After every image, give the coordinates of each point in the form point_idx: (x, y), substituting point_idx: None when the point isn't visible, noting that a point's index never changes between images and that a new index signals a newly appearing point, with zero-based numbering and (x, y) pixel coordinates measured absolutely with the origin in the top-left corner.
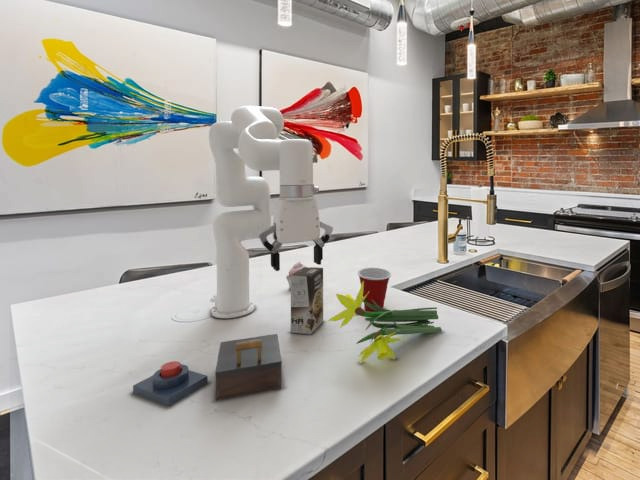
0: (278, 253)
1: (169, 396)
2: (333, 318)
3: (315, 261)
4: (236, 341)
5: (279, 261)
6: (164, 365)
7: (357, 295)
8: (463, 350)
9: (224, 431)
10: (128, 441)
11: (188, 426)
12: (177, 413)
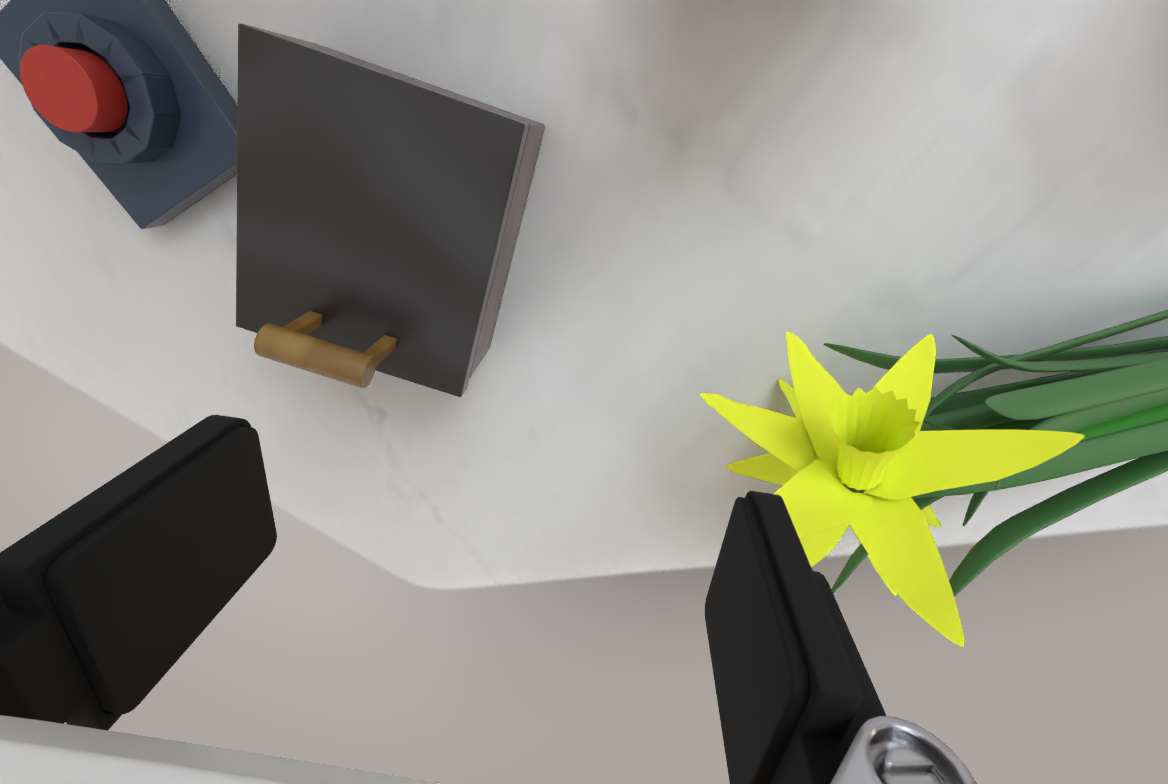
0: (102, 729)
1: (141, 219)
2: (728, 412)
3: (727, 553)
4: (316, 78)
5: (207, 622)
6: (29, 70)
7: (874, 558)
8: (1106, 528)
9: (320, 427)
10: (103, 323)
11: (235, 355)
12: (197, 276)
